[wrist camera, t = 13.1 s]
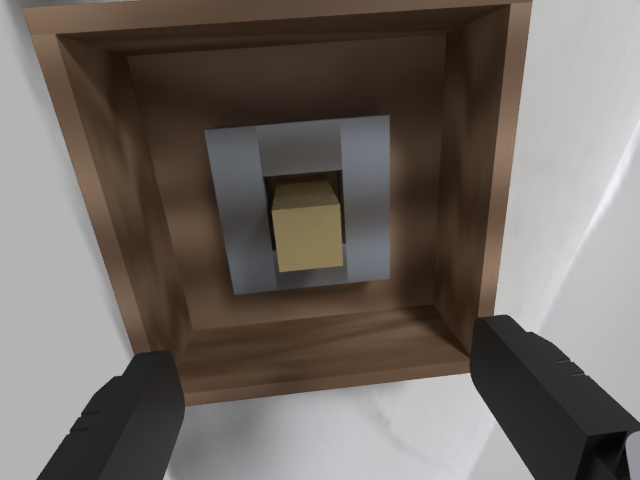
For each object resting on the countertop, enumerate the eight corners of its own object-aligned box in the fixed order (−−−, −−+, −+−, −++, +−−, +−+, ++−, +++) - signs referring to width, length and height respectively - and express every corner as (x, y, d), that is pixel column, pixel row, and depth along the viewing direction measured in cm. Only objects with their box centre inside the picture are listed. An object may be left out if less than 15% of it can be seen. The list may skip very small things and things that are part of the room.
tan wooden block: (277, 179, 25) (271, 210, 17) (325, 175, 25) (339, 204, 17) (282, 224, 26) (279, 272, 18) (328, 220, 26) (343, 265, 19)
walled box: (113, 41, 22) (21, 7, 14) (455, 18, 23) (535, -25, 15) (186, 334, 30) (152, 410, 22) (439, 307, 31) (486, 370, 23)
